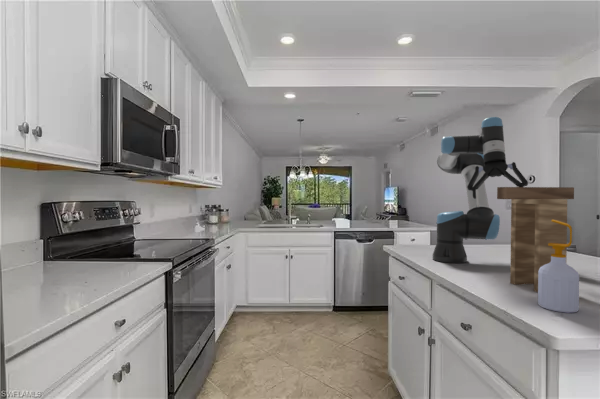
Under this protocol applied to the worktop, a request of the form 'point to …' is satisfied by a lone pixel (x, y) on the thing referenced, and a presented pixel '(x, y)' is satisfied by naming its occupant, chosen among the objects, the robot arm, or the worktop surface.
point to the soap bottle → (558, 281)
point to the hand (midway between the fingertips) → (498, 205)
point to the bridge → (535, 236)
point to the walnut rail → (535, 192)
